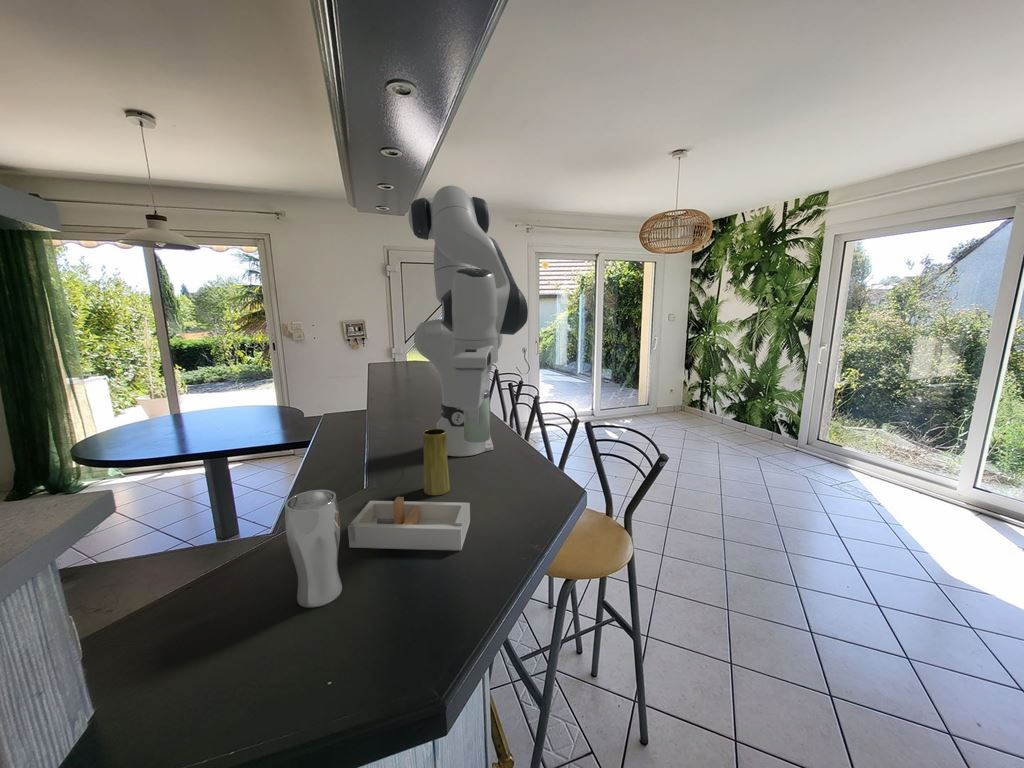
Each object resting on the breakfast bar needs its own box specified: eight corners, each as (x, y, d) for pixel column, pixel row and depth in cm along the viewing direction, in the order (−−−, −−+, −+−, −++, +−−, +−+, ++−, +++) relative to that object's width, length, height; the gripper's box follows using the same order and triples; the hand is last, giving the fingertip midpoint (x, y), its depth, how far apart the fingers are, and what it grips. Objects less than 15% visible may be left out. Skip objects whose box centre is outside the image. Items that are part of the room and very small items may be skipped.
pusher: (385, 517, 80) (383, 491, 80) (419, 518, 80) (418, 491, 79) (371, 536, 74) (369, 508, 73) (408, 537, 73) (407, 509, 72)
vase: (444, 497, 92) (442, 436, 90) (419, 494, 93) (416, 434, 91) (453, 485, 98) (451, 428, 95) (429, 483, 99) (427, 427, 97)
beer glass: (309, 578, 64) (300, 488, 62) (353, 578, 64) (345, 489, 61) (283, 610, 57) (272, 510, 55) (332, 611, 57) (323, 511, 55)
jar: (466, 433, 87) (465, 388, 85) (491, 434, 86) (491, 388, 84) (461, 442, 81) (460, 394, 79) (488, 442, 81) (488, 394, 79)
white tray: (371, 519, 82) (370, 498, 82) (470, 521, 81) (469, 500, 81) (349, 547, 73) (347, 524, 72) (461, 550, 71) (460, 526, 71)
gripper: (467, 347, 91) (469, 408, 93) (449, 359, 71) (451, 436, 73) (496, 347, 90) (496, 408, 93) (485, 360, 70) (486, 437, 73)
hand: (476, 421), depth 83 cm, fingers closed on jar, 5 cm apart
